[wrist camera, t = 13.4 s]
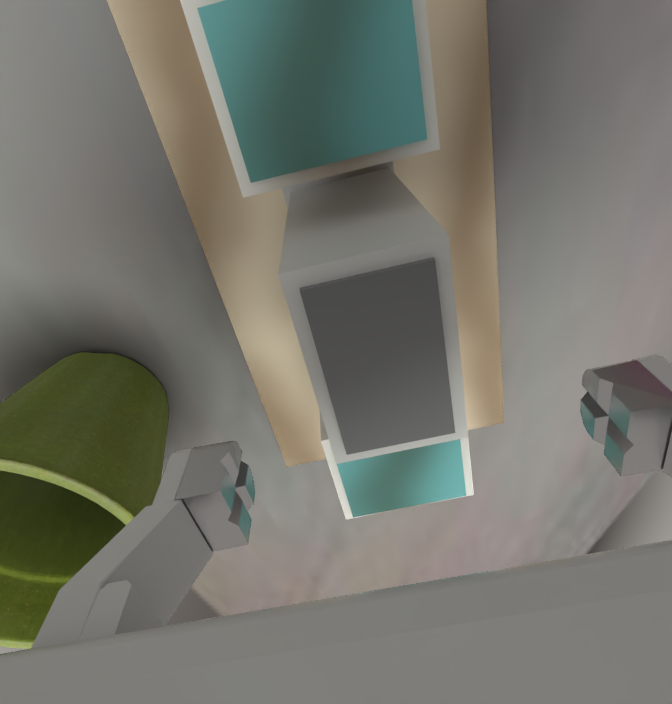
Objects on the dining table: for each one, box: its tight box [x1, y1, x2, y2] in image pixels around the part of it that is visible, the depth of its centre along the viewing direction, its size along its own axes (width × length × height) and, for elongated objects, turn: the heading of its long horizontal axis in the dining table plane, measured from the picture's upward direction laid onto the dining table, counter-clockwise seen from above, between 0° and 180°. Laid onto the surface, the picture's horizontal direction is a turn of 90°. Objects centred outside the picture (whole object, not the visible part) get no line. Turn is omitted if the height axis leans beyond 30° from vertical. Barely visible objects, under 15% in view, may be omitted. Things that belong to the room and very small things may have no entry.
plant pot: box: [0, 352, 169, 649], centre depth 23 cm, size 12×12×11 cm
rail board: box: [107, 0, 504, 519], centre depth 20 cm, size 14×26×9 cm, turn 13°
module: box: [278, 168, 468, 464], centre depth 18 cm, size 4×7×10 cm, turn 12°
